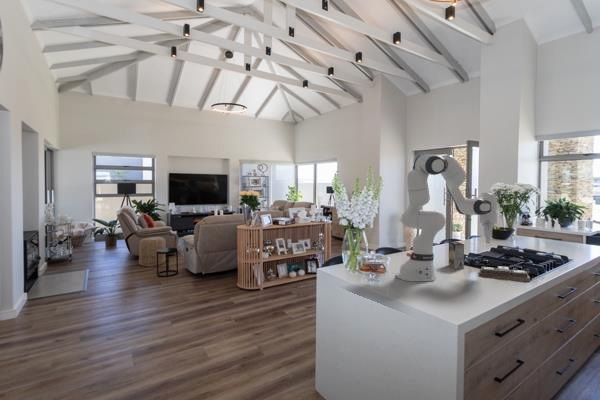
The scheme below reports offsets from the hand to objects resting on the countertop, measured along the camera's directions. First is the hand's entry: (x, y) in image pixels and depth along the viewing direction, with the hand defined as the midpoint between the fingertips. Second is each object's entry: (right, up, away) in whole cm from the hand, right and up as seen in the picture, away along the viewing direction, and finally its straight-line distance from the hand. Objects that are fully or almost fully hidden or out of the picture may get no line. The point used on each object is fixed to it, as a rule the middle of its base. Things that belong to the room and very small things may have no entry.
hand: (487, 243), depth 181 cm
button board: (+7, -19, -4) cm, 21 cm away
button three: (0, -17, 0) cm, 17 cm away
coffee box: (-8, -19, +20) cm, 29 cm away
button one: (+7, -16, -4) cm, 17 cm away
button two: (+13, -17, -7) cm, 23 cm away
